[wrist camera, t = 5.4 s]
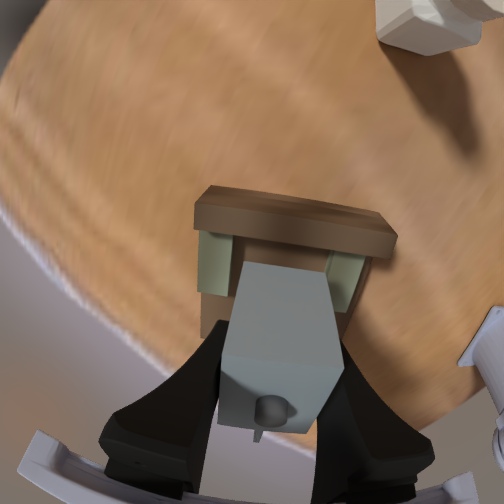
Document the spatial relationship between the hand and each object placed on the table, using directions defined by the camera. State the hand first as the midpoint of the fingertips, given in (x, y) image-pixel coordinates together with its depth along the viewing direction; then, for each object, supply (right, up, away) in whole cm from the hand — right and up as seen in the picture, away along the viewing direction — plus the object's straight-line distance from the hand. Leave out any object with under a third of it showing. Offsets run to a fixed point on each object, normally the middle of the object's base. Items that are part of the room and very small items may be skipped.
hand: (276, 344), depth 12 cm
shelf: (+1, +2, +8) cm, 8 cm away
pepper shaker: (+8, +18, -1) cm, 20 cm away
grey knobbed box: (0, 0, +3) cm, 3 cm away
